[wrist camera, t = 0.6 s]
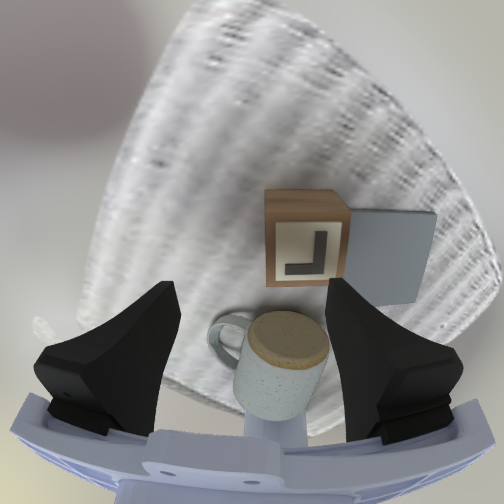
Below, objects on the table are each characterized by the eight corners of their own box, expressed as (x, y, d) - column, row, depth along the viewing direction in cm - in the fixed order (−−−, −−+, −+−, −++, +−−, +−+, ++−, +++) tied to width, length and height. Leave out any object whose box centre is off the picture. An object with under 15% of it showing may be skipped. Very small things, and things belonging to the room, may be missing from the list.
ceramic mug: (327, 308, 24) (342, 373, 18) (306, 365, 28) (311, 424, 21) (211, 293, 24) (192, 358, 18) (209, 354, 28) (195, 413, 21)
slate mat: (412, 299, 24) (414, 302, 23) (327, 305, 24) (328, 309, 24) (433, 212, 20) (437, 215, 19) (337, 209, 20) (339, 212, 20)
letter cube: (327, 250, 22) (343, 288, 17) (265, 251, 22) (266, 290, 17) (332, 189, 20) (353, 214, 15) (264, 189, 20) (264, 214, 15)
